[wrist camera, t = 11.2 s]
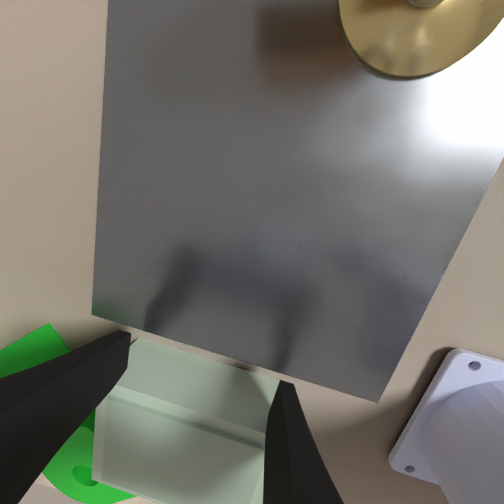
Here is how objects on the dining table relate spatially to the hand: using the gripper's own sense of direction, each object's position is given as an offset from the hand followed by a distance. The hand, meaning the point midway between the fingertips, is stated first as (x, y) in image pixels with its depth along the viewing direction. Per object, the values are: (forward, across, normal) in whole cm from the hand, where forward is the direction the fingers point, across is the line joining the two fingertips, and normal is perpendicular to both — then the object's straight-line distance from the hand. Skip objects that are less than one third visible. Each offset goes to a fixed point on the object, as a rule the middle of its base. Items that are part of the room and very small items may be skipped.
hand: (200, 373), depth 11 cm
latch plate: (+2, -1, -11) cm, 11 cm away
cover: (+3, 0, +5) cm, 6 cm away
